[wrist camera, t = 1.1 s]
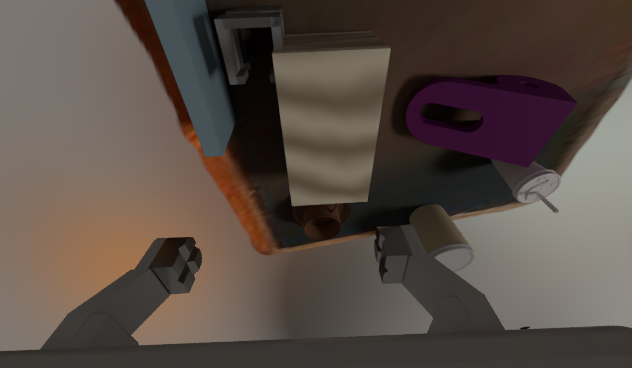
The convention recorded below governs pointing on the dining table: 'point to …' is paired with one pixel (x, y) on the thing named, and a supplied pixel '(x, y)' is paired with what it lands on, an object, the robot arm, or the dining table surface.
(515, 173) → the smoothie
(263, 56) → the dining table surface
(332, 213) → the cup and saucer
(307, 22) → the dining table surface
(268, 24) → the cabinet
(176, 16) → the door
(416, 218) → the coffee cup
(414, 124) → the mounting bracket
